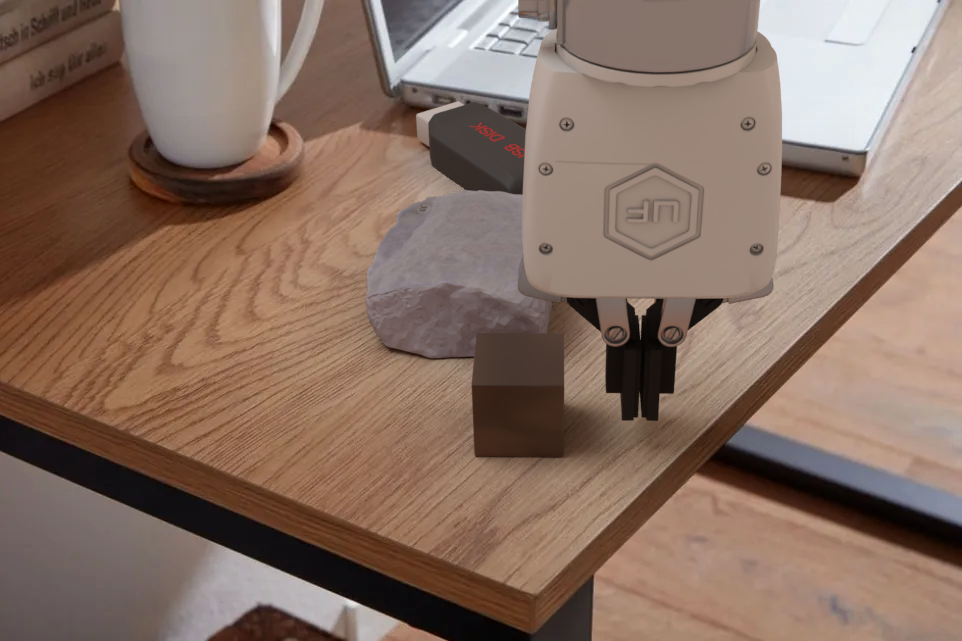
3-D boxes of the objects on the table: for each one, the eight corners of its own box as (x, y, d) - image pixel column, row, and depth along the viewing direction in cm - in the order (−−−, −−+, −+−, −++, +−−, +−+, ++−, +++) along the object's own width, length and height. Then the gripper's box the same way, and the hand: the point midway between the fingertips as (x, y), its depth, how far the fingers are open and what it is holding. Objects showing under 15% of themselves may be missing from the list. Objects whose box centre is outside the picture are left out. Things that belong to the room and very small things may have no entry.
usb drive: (511, 221, 77) (510, 179, 76) (405, 146, 86) (402, 107, 84) (583, 195, 80) (584, 154, 78) (472, 125, 88) (471, 86, 86)
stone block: (367, 383, 67) (561, 361, 65) (341, 302, 65) (541, 276, 63) (409, 267, 77) (578, 244, 75) (387, 193, 75) (562, 168, 73)
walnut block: (563, 402, 63) (564, 332, 61) (563, 457, 60) (564, 385, 57) (479, 402, 63) (476, 332, 61) (474, 456, 60) (471, 384, 58)
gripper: (450, 52, 47) (467, 454, 57) (880, 49, 46) (819, 457, 57) (463, -22, 53) (476, 353, 64) (842, -25, 53) (794, 355, 63)
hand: (638, 401), depth 60 cm, fingers closed
